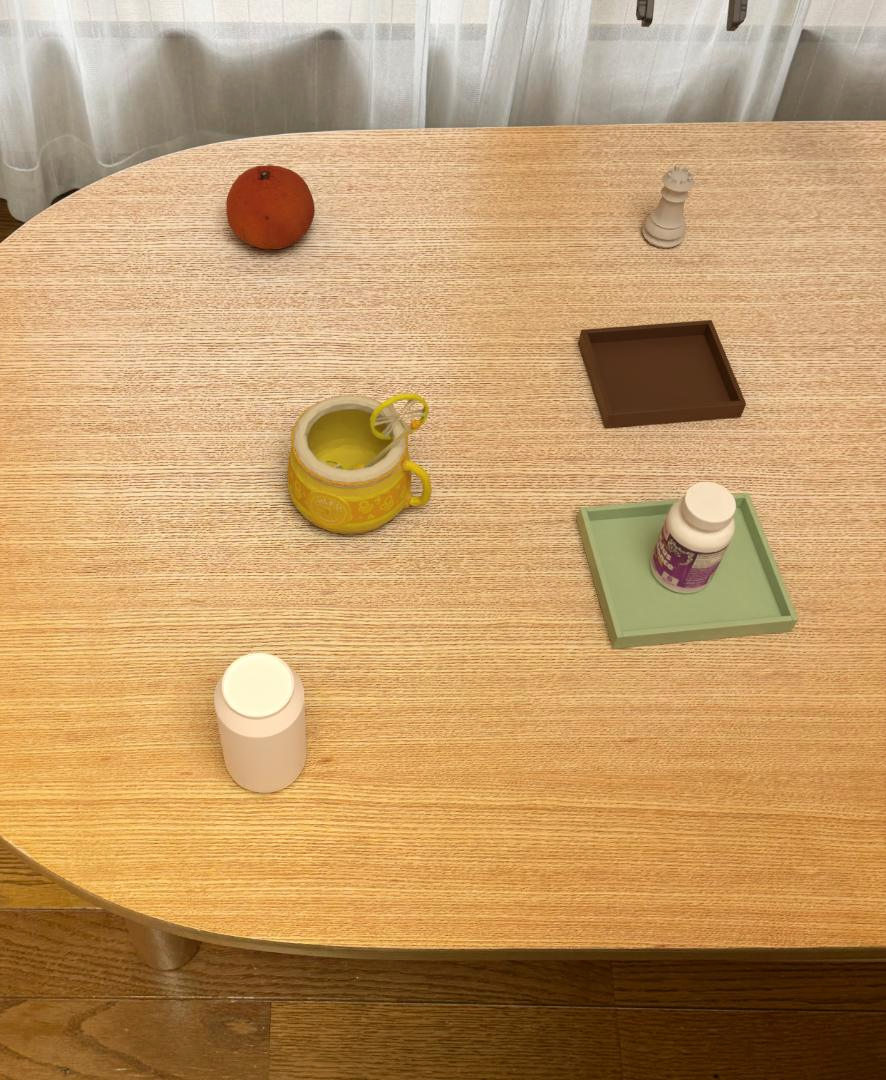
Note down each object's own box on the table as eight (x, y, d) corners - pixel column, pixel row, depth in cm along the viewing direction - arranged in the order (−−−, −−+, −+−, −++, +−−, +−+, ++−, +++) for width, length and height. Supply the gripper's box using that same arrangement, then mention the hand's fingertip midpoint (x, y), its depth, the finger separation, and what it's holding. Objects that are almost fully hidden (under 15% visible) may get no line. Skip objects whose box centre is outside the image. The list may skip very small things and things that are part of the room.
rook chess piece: (665, 256, 122) (683, 193, 115) (632, 234, 124) (648, 171, 117) (692, 237, 124) (712, 174, 117) (659, 216, 126) (677, 153, 119)
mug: (268, 523, 101) (261, 432, 92) (314, 433, 107) (312, 339, 98) (408, 566, 99) (416, 478, 89) (447, 472, 105) (459, 379, 95)
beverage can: (314, 789, 87) (311, 716, 78) (231, 805, 87) (218, 733, 77) (299, 715, 91) (294, 636, 81) (219, 730, 90) (205, 652, 80)
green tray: (742, 505, 103) (748, 492, 102) (791, 631, 96) (798, 619, 94) (576, 520, 102) (579, 507, 101) (612, 649, 95) (617, 637, 93)
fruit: (219, 258, 121) (212, 194, 114) (242, 203, 126) (237, 140, 119) (302, 272, 120) (300, 208, 113) (322, 216, 125) (322, 153, 118)
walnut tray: (706, 333, 116) (711, 319, 114) (740, 417, 109) (746, 403, 108) (577, 343, 115) (581, 329, 113) (604, 428, 108) (608, 415, 107)
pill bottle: (636, 555, 100) (662, 485, 92) (689, 535, 101) (719, 465, 93) (670, 605, 97) (700, 537, 89) (725, 584, 98) (759, 515, 90)
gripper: (640, -169, 111) (625, 13, 113) (792, -162, 110) (773, 20, 113) (625, -137, 118) (611, 33, 121) (767, -131, 118) (750, 40, 120)
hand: (689, 27), depth 117 cm, fingers open, 8 cm apart
